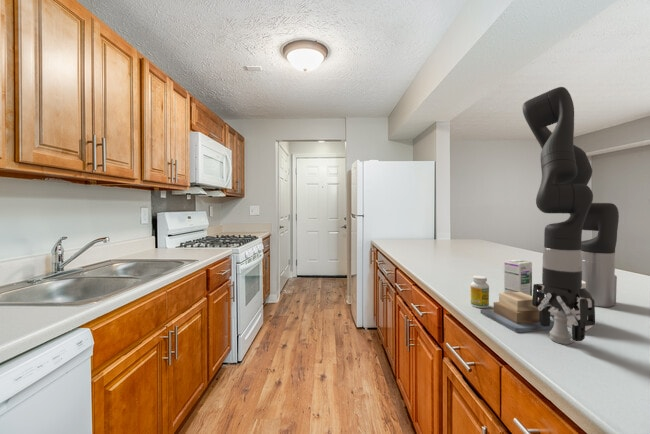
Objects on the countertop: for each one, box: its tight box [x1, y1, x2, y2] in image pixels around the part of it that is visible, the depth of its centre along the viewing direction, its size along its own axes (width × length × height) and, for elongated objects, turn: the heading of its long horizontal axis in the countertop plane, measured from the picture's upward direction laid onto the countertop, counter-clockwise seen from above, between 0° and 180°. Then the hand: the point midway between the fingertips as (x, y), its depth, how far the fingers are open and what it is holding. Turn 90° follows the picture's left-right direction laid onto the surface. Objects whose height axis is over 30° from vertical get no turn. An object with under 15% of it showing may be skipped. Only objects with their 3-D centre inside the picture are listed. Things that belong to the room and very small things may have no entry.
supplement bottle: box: [470, 275, 490, 309], centre depth 98 cm, size 5×5×10 cm
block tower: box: [480, 292, 554, 333], centre depth 86 cm, size 14×14×7 cm
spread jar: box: [548, 281, 593, 331], centre depth 83 cm, size 12×11×12 cm
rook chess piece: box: [548, 307, 573, 345], centre depth 73 cm, size 4×4×8 cm
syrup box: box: [503, 259, 533, 296], centre depth 99 cm, size 6×6×14 cm
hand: (560, 332), depth 73 cm, fingers open, 8 cm apart
